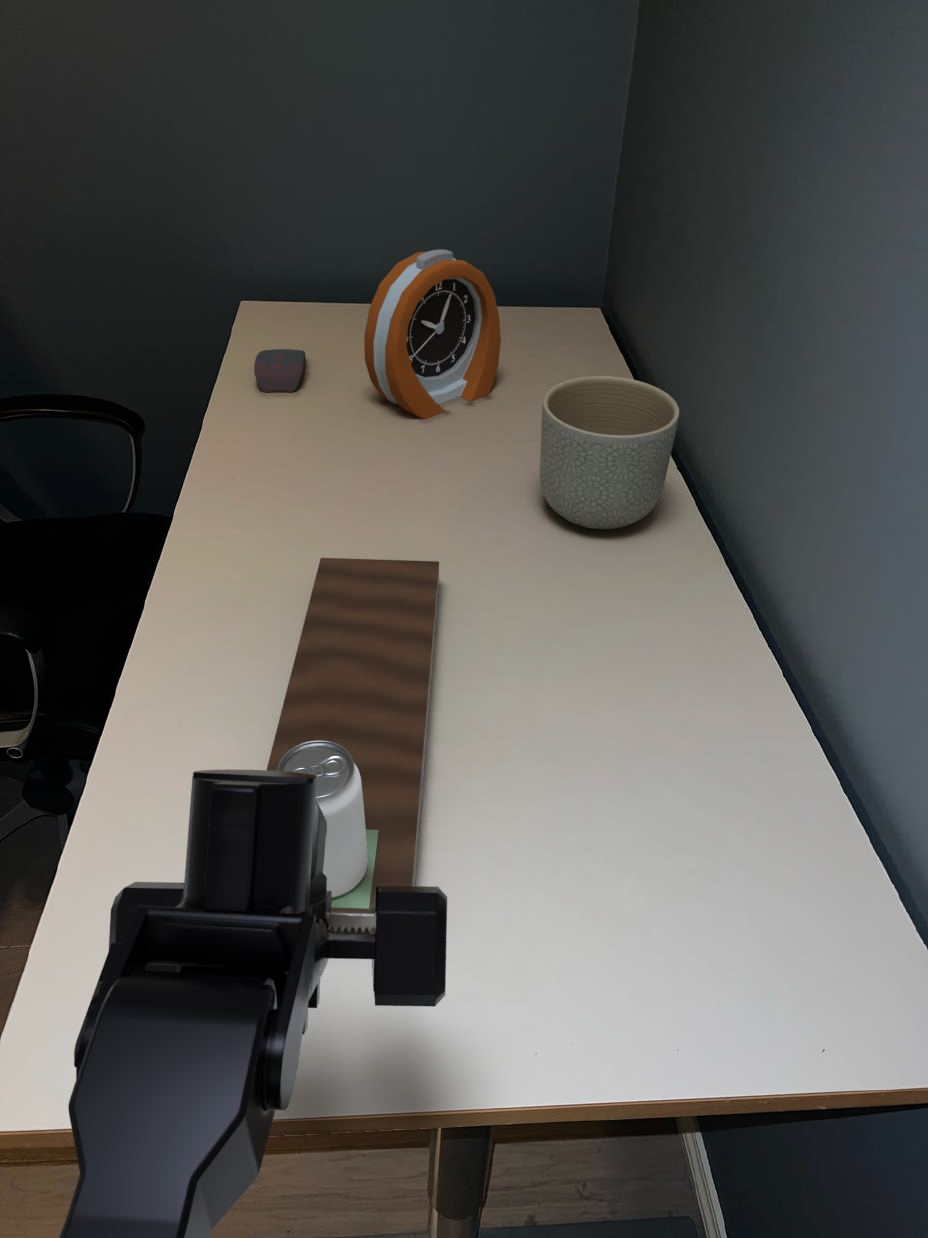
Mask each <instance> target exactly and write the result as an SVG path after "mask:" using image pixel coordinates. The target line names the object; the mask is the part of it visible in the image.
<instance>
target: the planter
mask: <svg viewBox="0 0 928 1238" xmlns="http://www.w3.org/2000/svg"><path fill="white" fill-rule="evenodd" d="M679 418H680V407H679V405H678V404H677V402H676V400H675V399H674V398H673V397H672V396H671V395H670V394H669V393H667V392H665V391H664V390H662V389H661V388H659V387H658V386H657V387H656V386H655V385H653V384H650V383H647V382H643V381H641V380H638V379H637V380H636V379H632V378H627V377H621V376H611V375H590V376H589V375H588V376H582V377H581V376H580V377H575V378H571V379H567V380H564V381H562V382H560V383H557V384H555V385H554V386H552V387H551V388H549V389H548V391H547V392H546V393H545V394H544V396H543V399H542V407H541V422H540V423H541V427H540V452H539V453H540V454H539V482H540V483H539V484H540V488H541V492H542V495H543V498H544V499H545V501H546V502H547V504H548V505H549V507H550V508H551V509H552V510H553V511H554V512H555V513H557V514H558V515H559V516H560V517H562V518H563V519H565V520H566V521H568V522H570V523H572V524H575V525H577V526H580V527H584V528H588V529H594V530H614V529H619V528H624V527H627V526H630V525H632V524H634V523H636V522H638V521H640V520H642V519H643V518H645V517H646V516H647V515H648V514H649V513H651V511H652V510H653V509H654V508H655V506H656V505H657V504H658V502H659V500H660V498H661V497H662V492H663V489H664V486H665V482H666V479H667V473H668V470H669V465H670V461H671V460H670V459H671V455H672V451H673V448H674V442H675V438H676V433H677V429H678V424H679Z"/></svg>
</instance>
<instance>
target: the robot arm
mask: <svg viewBox="0 0 928 1238" xmlns="http://www.w3.org/2000/svg"><path fill="white" fill-rule="evenodd" d="M316 784H317V776H315V775H311V774H305V773H297V772H285V771H269V770H267V769H204V770H203V769H202V770H194V771H193V772H192V778H191V790H190V803H189V804H190V805H189V815H188V828H187V829H188V831H187V844H186V856H185V868H184V879H183V880H184V881H183V882H174V881H173V882H169V881H168V882H167V881H134V882H131V883H130V884H129V885H126V886H125V887H123V888H122V889H121V890H120V892H118V893H117V894H116V896H114V900H113V902H112V905H111V908H110V916H109V918H110V919H109V934H108V952H107V954H106V958H105V960H104V963H103V966H102V968H101V972H100V974H99V977H98V980H97V983H96V985H95V989H94V990H93V993H92V997H91V999H90V1002H89V1005H88V1007H87V1010H86V1013H85V1016H84V1019H83V1021H82V1024H81V1027H80V1029H79V1033H78V1035H77V1038H76V1041H75V1045H74V1051H73V1059H74V1060H73V1066H74V1068H75V1083H74V1086H73V1088H72V1091H71V1094H70V1097H69V1101H68V1106H67V1107H68V1117H69V1121H70V1127H71V1133H72V1137H73V1144H74V1148H75V1149H74V1150H75V1155H76V1160H77V1165H78V1171H79V1175H78V1179H77V1182H76V1186H75V1189H74V1192H73V1196H72V1199H71V1202H70V1205H69V1208H68V1212H67V1214H66V1217H65V1221H64V1224H63V1226H62V1229H61V1231H60V1235H59V1237H58V1238H210V1237H211V1235H212V1234H211V1233H212V1231H213V1230H214V1228H215V1226H216V1225H218V1223H219V1222H220V1221H221V1220H222V1219H223V1218H224V1216H225V1215H227V1213H228V1212H229V1211H230V1210H231V1208H233V1206H234V1205H235V1204H236V1203H237V1202H238V1201H239V1199H241V1197H242V1196H243V1195H244V1194H245V1192H246V1191H247V1190H248V1189H249V1188H250V1187H251V1186H252V1184H253V1183H254V1182H255V1181H256V1180H257V1178H258V1177H259V1173H260V1171H261V1167H262V1164H263V1160H264V1156H265V1152H266V1148H267V1144H268V1140H269V1136H270V1133H271V1128H272V1124H273V1121H274V1116H275V1112H276V1111H286V1110H287V1109H288V1107H289V1105H290V1102H291V1099H292V1095H293V1093H294V1088H295V1082H296V1078H297V1073H298V1072H297V1071H298V1065H299V1059H300V1052H301V1047H302V1041H303V1036H304V1035H305V1034H306V1032H307V1030H308V1023H309V1021H308V1020H309V1009H318V1006H319V1004H320V996H321V995H320V994H321V977H322V976H323V973H324V972H325V970H326V967H327V966H328V962H329V959H330V960H331V959H333V960H337V959H339V960H340V959H343V960H371V973H372V974H371V975H372V990H373V991H372V992H373V997H374V998H373V999H374V1006H375V1007H376V1006H378V1007H379V1006H381V1007H436V1006H437V1005H438V1004H439V1003H440V1002H441V1001H442V1000H443V998H444V997H446V983H447V981H446V980H447V939H448V938H447V935H448V931H447V929H448V928H447V927H448V922H447V921H448V895H446V893H445V892H443V890H442V889H441V888H440V887H439V886H427V885H425V886H423V885H422V886H421V885H418V886H417V885H415V886H376V892H375V903H374V904H373V905H371V913H331V901H332V891H327V877H326V876H325V875H324V874H323V866H324V853H325V840H326V833H327V822H326V819H325V817H324V815H323V813H322V811H321V809H320V807H319V805H318V803H317V802H316V801H315V800H316ZM352 928H353V931H354V933H351V931H352ZM331 929H332V930H333V933H331V932H330V931H331ZM338 929H339V931H340V933H337V931H338ZM345 929H346V930H347V933H344V931H345ZM359 929H360V931H361V933H358V931H359ZM366 929H367V931H368V933H365V932H366Z"/></svg>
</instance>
